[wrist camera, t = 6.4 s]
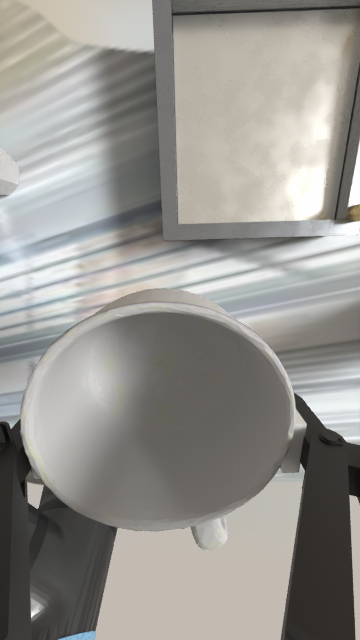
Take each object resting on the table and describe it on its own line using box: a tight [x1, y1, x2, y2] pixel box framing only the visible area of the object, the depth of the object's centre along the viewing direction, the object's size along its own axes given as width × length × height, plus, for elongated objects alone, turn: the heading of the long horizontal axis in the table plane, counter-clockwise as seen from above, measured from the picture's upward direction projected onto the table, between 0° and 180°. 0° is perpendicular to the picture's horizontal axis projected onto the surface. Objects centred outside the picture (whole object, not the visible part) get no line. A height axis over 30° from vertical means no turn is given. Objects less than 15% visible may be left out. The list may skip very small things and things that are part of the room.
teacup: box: [20, 288, 296, 550], centre depth 13 cm, size 14×11×8 cm
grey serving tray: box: [152, 0, 360, 240], centre depth 23 cm, size 20×20×7 cm
